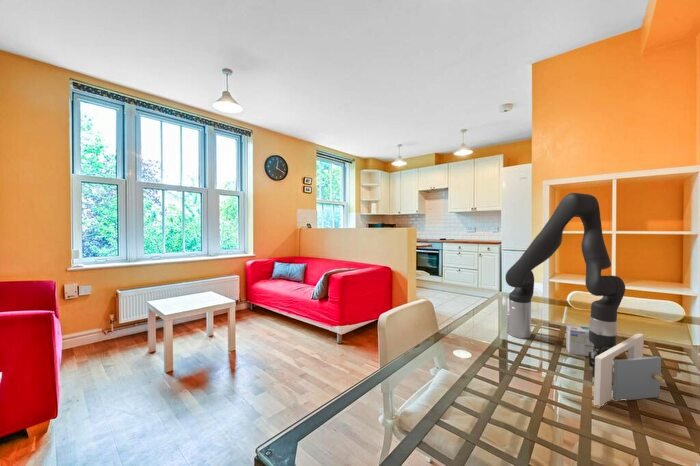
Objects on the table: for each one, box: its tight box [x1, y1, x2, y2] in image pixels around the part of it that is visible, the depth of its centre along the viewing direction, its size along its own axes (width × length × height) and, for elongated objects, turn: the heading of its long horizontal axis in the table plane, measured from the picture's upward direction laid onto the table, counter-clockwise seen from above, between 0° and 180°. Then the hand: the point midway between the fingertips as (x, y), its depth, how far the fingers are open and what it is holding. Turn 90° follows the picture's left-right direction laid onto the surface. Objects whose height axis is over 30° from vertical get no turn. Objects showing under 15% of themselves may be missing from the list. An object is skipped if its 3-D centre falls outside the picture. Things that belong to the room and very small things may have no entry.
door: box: [612, 355, 664, 401], centre depth 92 cm, size 3×15×13 cm, turn 96°
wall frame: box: [593, 332, 645, 406], centre depth 97 cm, size 2×32×16 cm, turn 118°
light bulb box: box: [565, 323, 594, 357], centre depth 122 cm, size 11×7×11 cm, turn 65°
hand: (600, 375), depth 105 cm, fingers closed on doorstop, 5 cm apart
